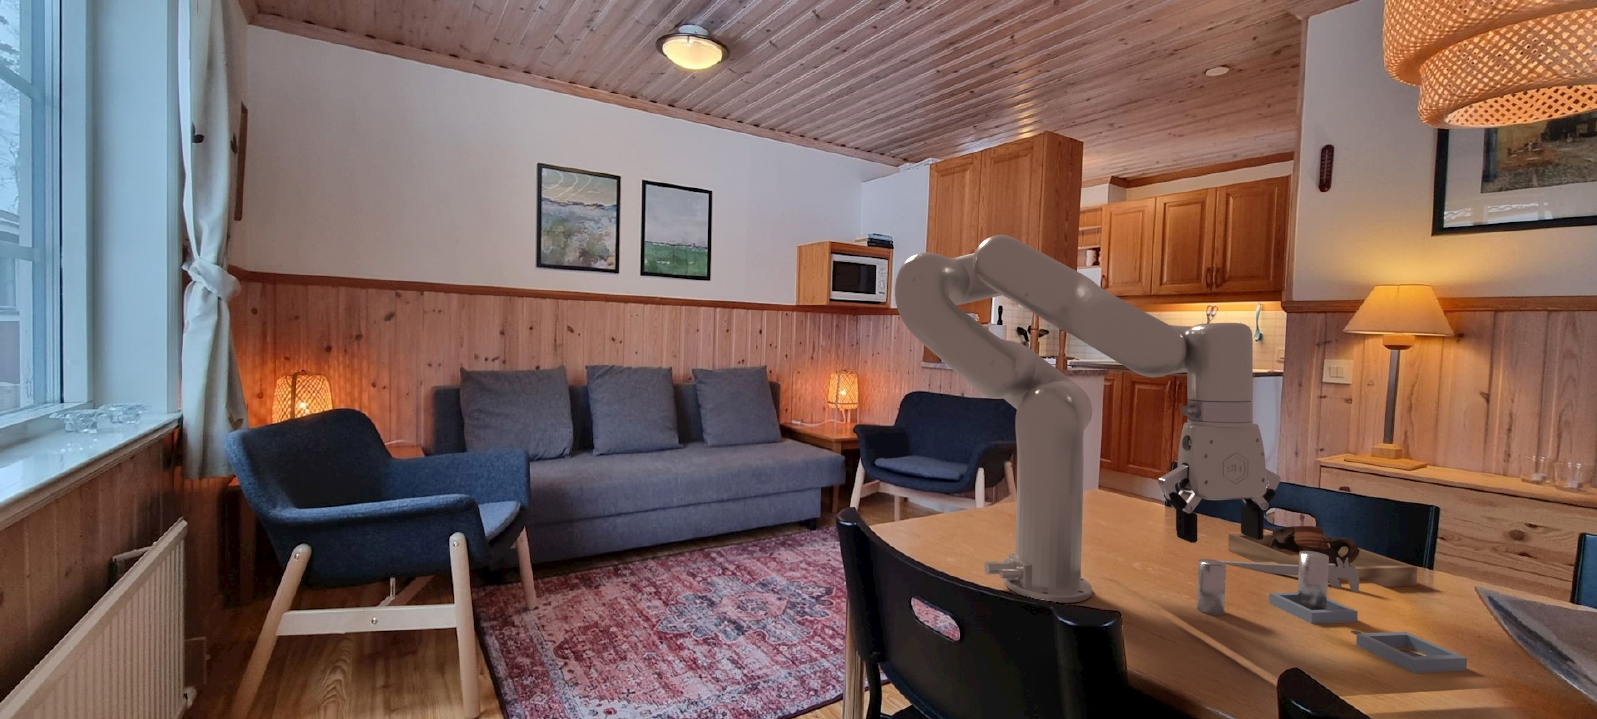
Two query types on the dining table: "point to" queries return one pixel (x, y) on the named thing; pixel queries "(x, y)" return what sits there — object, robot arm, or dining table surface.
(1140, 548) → the dining table surface
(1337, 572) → the caliper
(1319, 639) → the dining table surface
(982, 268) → the robot arm
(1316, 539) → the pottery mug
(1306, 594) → the seated pin
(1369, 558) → the brown elongated piece
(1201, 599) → the steel pin
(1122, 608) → the dining table surface
